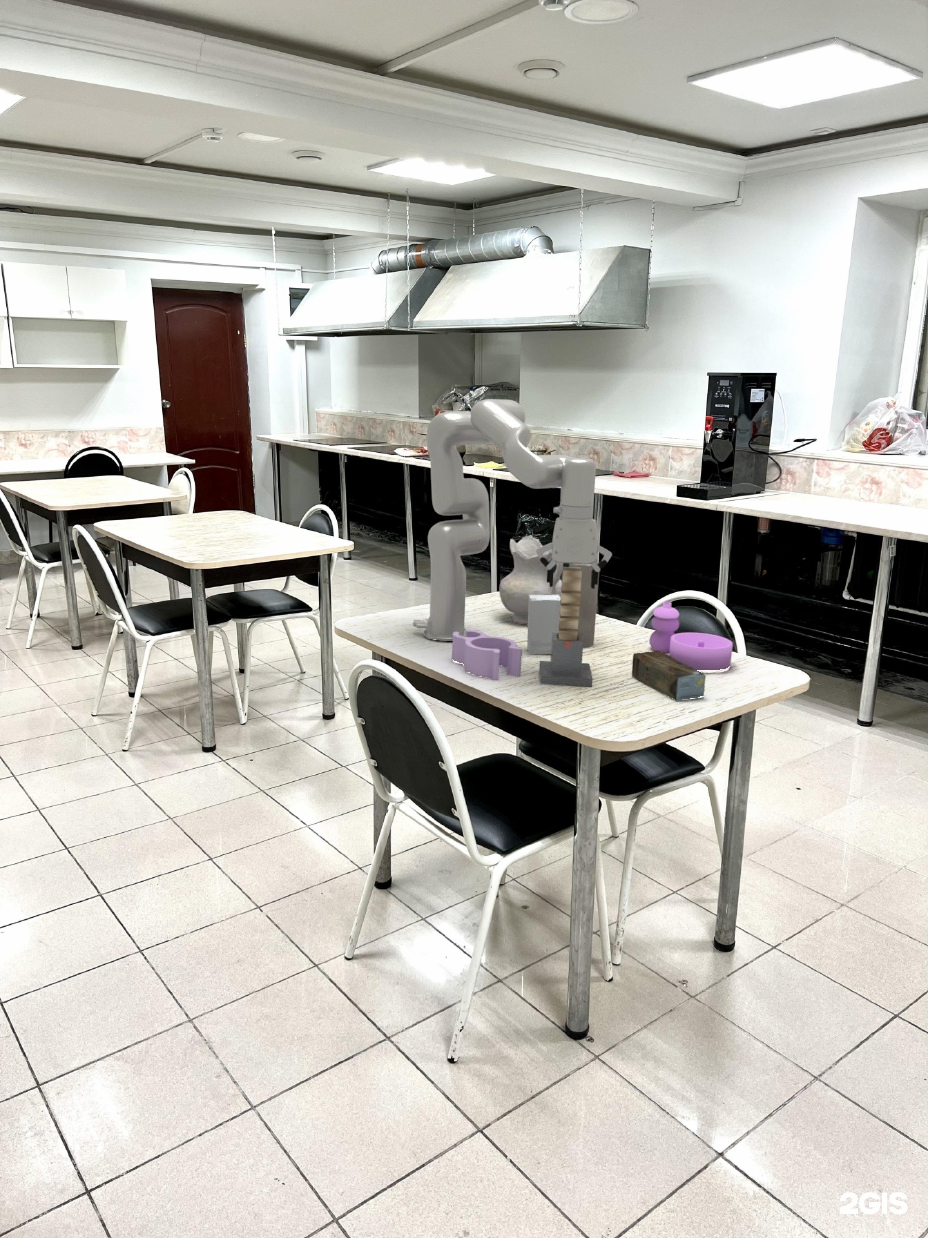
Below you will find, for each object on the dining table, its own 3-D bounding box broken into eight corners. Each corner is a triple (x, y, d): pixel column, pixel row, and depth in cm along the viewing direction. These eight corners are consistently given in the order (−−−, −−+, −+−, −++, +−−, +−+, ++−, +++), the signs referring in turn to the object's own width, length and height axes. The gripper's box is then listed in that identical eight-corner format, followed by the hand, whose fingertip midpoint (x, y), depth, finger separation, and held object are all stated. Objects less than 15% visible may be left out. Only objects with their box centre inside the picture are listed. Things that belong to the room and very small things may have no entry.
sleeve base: (540, 683, 212) (542, 642, 209) (539, 668, 223) (541, 629, 221) (591, 686, 211) (595, 645, 208) (588, 671, 222) (591, 631, 220)
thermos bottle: (563, 638, 251) (570, 537, 244) (593, 640, 250) (600, 539, 243) (564, 646, 243) (571, 542, 236) (594, 648, 243) (602, 544, 236)
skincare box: (556, 649, 241) (560, 594, 237) (560, 655, 235) (563, 599, 231) (525, 648, 240) (528, 593, 237) (527, 654, 235) (530, 598, 231)
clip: (439, 660, 227) (440, 633, 226) (480, 654, 234) (481, 627, 233) (487, 683, 211) (488, 654, 210) (529, 675, 218) (530, 647, 217)
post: (556, 670, 214) (563, 570, 209) (555, 665, 219) (562, 566, 213) (575, 671, 214) (582, 571, 208) (574, 666, 218) (581, 567, 213)
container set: (742, 669, 229) (749, 618, 226) (698, 676, 222) (703, 624, 219) (674, 644, 250) (679, 597, 247) (631, 650, 243) (635, 601, 240)
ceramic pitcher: (581, 626, 269) (590, 542, 264) (542, 633, 254) (551, 544, 249) (523, 613, 282) (531, 533, 278) (483, 618, 268) (490, 534, 263)
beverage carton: (675, 702, 203) (677, 674, 201) (629, 677, 220) (631, 650, 219) (704, 699, 206) (707, 671, 204) (657, 674, 223) (659, 648, 222)
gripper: (538, 513, 204) (534, 588, 208) (616, 516, 203) (610, 591, 207) (538, 509, 211) (534, 581, 216) (613, 512, 210) (607, 585, 215)
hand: (571, 586), depth 211 cm, fingers open, 9 cm apart
